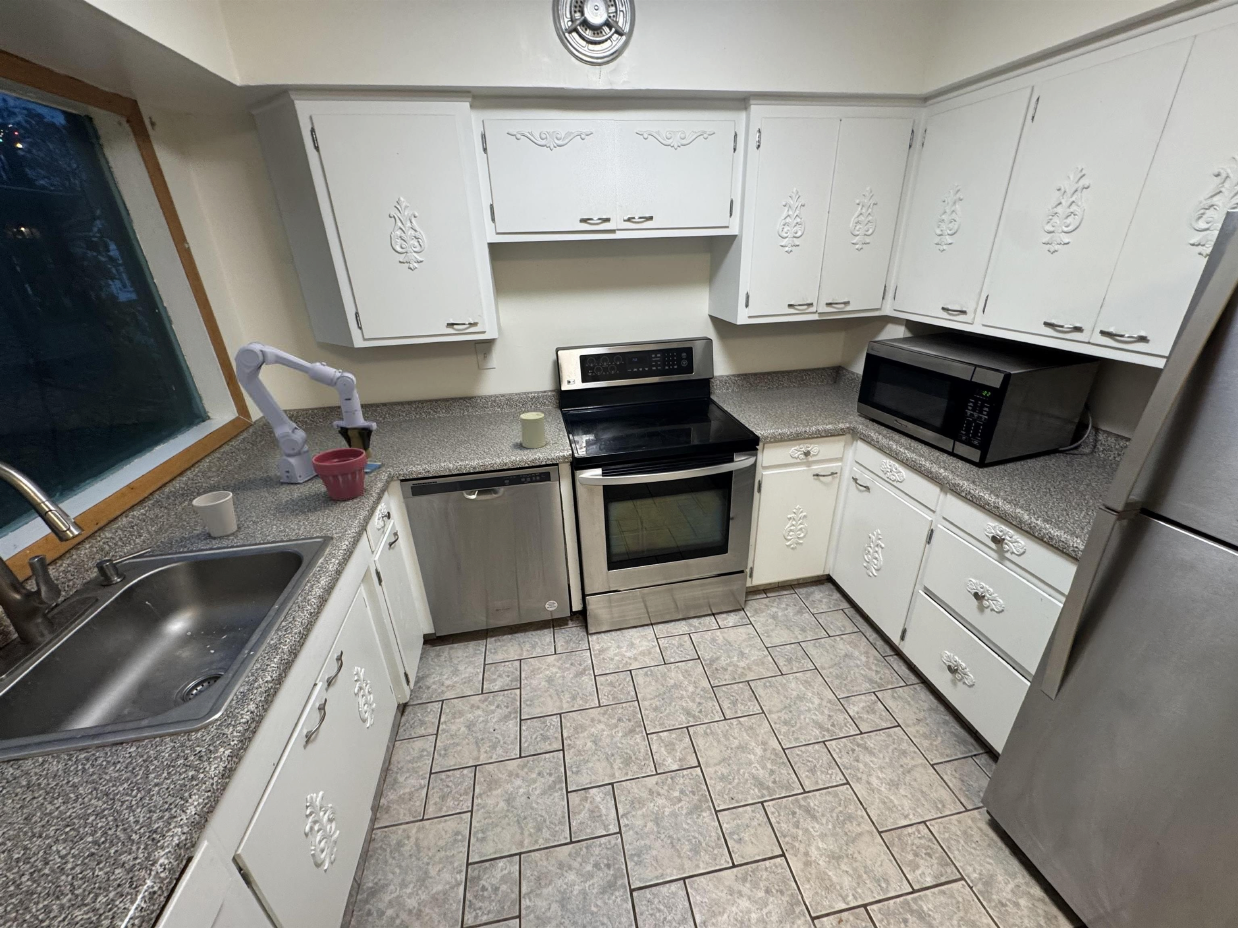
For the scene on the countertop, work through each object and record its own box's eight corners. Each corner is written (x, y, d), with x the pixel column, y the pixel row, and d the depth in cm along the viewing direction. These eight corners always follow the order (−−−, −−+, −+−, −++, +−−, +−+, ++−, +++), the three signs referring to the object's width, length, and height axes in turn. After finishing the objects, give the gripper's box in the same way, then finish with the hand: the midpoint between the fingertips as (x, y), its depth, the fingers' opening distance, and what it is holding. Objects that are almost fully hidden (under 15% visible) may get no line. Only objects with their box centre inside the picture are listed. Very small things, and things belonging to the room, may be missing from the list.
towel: (369, 473, 170) (368, 471, 170) (345, 471, 171) (344, 470, 171) (382, 464, 177) (382, 462, 177) (359, 463, 179) (359, 461, 178)
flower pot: (376, 482, 163) (369, 445, 158) (368, 500, 150) (360, 461, 146) (328, 487, 160) (318, 449, 155) (315, 506, 147) (305, 466, 142)
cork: (364, 461, 170) (357, 430, 165) (348, 460, 171) (341, 429, 166) (375, 455, 175) (369, 424, 171) (360, 453, 176) (353, 424, 172)
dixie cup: (237, 520, 140) (226, 488, 136) (247, 530, 135) (236, 496, 131) (200, 532, 134) (188, 498, 130) (209, 542, 129) (196, 508, 125)
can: (548, 446, 193) (546, 416, 188) (524, 449, 190) (522, 419, 185) (543, 438, 201) (541, 409, 196) (520, 441, 198) (517, 412, 193)
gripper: (378, 407, 169) (386, 445, 174) (339, 405, 171) (348, 443, 176) (365, 413, 162) (374, 452, 168) (325, 411, 165) (334, 450, 170)
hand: (360, 448), depth 171 cm, fingers closed on cork, 5 cm apart
